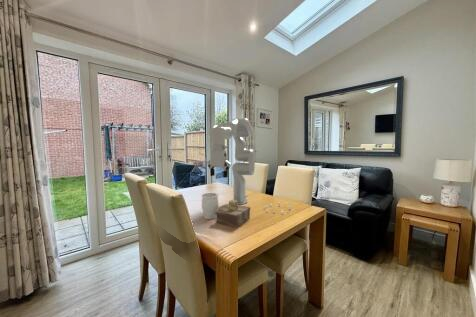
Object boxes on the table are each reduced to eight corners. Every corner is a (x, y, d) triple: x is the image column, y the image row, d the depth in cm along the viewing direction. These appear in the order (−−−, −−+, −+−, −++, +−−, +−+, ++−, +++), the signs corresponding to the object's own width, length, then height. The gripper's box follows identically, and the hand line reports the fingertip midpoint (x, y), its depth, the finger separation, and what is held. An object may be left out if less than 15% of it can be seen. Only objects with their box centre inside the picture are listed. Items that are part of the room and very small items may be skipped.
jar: (202, 221, 132) (201, 197, 130) (201, 215, 142) (201, 193, 140) (219, 220, 134) (219, 196, 132) (217, 214, 144) (217, 192, 142)
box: (230, 215, 140) (230, 205, 140) (249, 220, 133) (249, 209, 133) (216, 224, 127) (216, 213, 126) (236, 229, 120) (236, 217, 119)
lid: (230, 206, 140) (230, 196, 139) (250, 210, 133) (250, 199, 132) (215, 214, 126) (215, 203, 125) (236, 219, 119) (236, 207, 118)
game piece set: (271, 204, 166) (271, 199, 166) (295, 209, 154) (295, 204, 153) (257, 210, 151) (257, 205, 151) (283, 217, 139) (283, 211, 138)
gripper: (234, 148, 125) (234, 176, 126) (211, 147, 134) (211, 174, 135) (226, 148, 118) (227, 178, 120) (203, 147, 127) (203, 176, 129)
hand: (218, 176), depth 128 cm, fingers open, 9 cm apart
